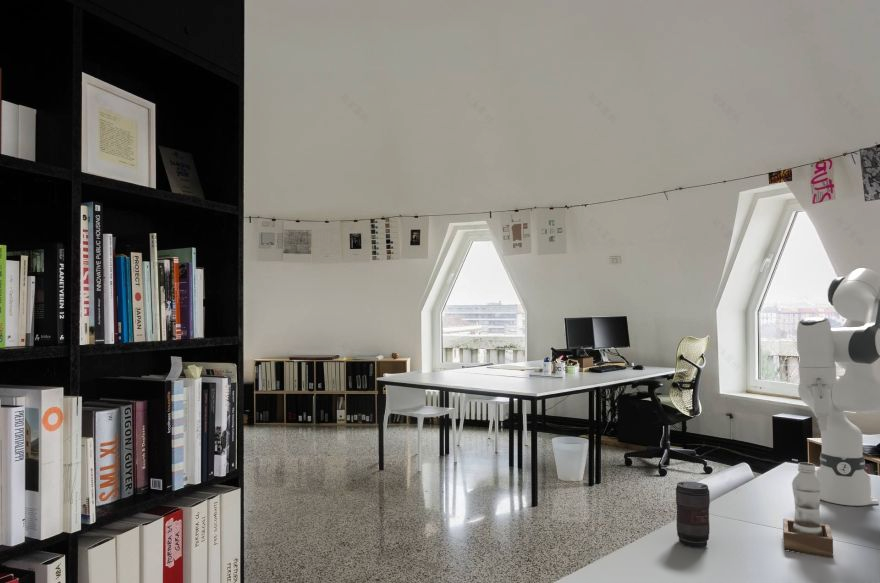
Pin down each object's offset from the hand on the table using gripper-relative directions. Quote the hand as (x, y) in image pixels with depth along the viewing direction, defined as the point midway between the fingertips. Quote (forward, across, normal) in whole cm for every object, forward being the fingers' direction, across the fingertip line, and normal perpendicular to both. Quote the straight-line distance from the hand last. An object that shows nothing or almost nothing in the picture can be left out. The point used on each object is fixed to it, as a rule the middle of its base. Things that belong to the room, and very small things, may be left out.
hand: (822, 427), depth 177 cm
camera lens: (+26, -28, +32) cm, 50 cm away
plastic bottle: (+27, -17, +6) cm, 32 cm away
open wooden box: (+27, -17, +6) cm, 33 cm away
